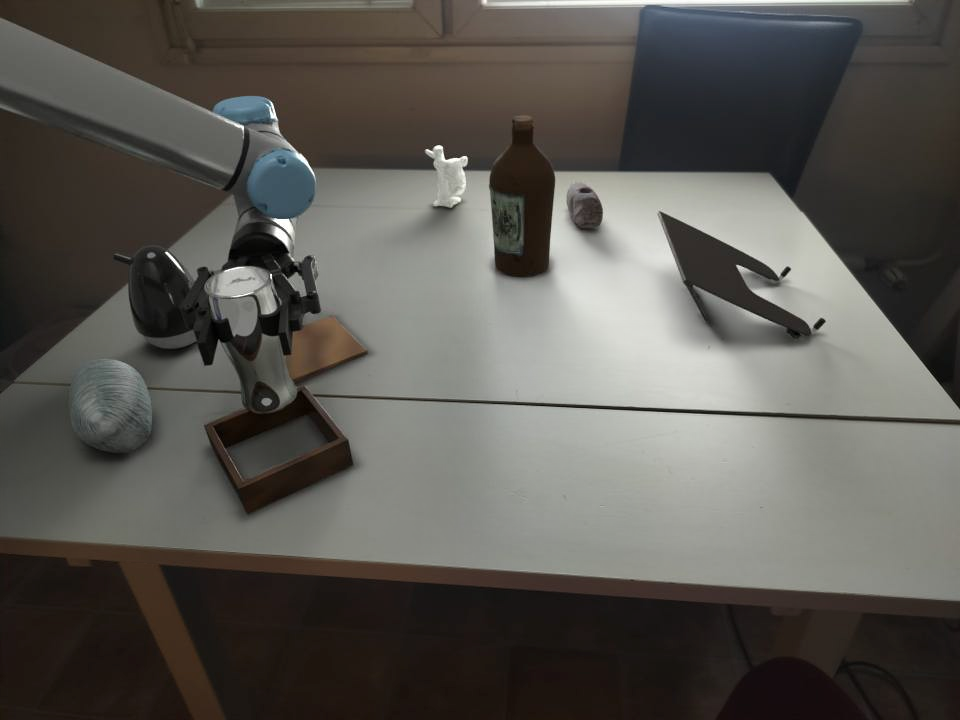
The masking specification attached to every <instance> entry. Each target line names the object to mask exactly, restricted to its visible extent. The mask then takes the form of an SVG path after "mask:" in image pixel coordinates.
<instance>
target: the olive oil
mask: <svg viewBox="0 0 960 720" xmlns="http://www.w3.org/2000/svg"><path fill="white" fill-rule="evenodd" d="M511 123H512V126H511V142H510V144H509V145H508V146H507V147H506V149H504V150H503V152H501V154H500V155H499V156H497V158H496V159H495V161H494V162H493V164H492V167H491V170H490V174H489V181H488V183H489V184H488V189H489V196H490V197H489V198H490V210H491V221H492V236H493V253H494V265H495V269H497V271H499V272H500V273H502V274H504V275H507V276H510V277H516V278H517V277H518V278H525V277H533V276H537V275H540V274H542V273H543V272H545V271H546V270H547V269H548V268H549V265H550V253H551V252H550V251H551V237H552V224H553V223H552V222H553V211H554V200H555V192H556V191H555V189H556V173H555V170H554V166H553V163H552V162H551V160H550V159H549V158H548V157H547V155H546V154H545V153H544V152H543V151H542V150H541V149H540V148H539V147H538V146H537V145H536V144H535V142H534V126H533V124H534V118H533V117H532V116H530V115H525V114H524V115H516V116H514V117H512V118H511Z"/></svg>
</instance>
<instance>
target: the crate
mask: <svg viewBox="0 0 960 720" xmlns="http://www.w3.org/2000/svg"><path fill="white" fill-rule="evenodd" d="M296 388H297V396H296V398H295V400H294V401H293V402H292V403H291V404H290V405H289V406H287V407H286V408H284V409H282V410H280V411H277V412H274V413H269V414H256V413H252V412H250V411H248V410H246V409H245V408H243V409H240V410H237V411H236V412H233V413H231V414H228V415H226V416H224V417H220V418H218V419H215V420H213V421H210V422H208V423H205V424H204V425H203V427H204V430H205V433H206V435H207V438H208V441H209V445H210V446H211V450H212V452H213V453H214V455H215V458H216V459H217V461H218V463H219V464H220V467H221V469H222V470H223V473H224V474H225V476H226V477H227V479H228V481H229V483H230V485H231V487H232V489H233V491H234V493H235V494H236V497H237V498H238V499H239V502H240V503H241V505H242V507H243V510H244V511H245V513H246V515H250V514H252V513H254V512H256V511H259V510H261V509H263V508H265V507H267V506H269V505H271V504H273V503H275V502H278V501H280V500H282V499H284V498H287V497H288V496H290V495H292V494H295V493H297V492H299V491H301V490H303V489H306V488H308V487H310V486H312V485H314V484H316V483H319V482H320V481H323V480H325V479H327V478H328V477H331V476H333V475H335V474H337V473H339V472H342V471H343V470H346V469H348V468H351V467H353V466H354V460H353V455H352V450H351V444H350V440H349V438H348V437H347V436H346V434H345V433H344V432H343V430H341V428H340V427H339V426H338V425H337V424H336V422H335V421H334V419H333V418H332V417H331V416H330V415H329V413H328V412H327V411H326V409H325V408H324V407H323V406H322V405H321V403H319V401H318V400H317V399H316V397H315V396H314V395H313V393H311V391H310V390H309V388H308V387H307V386H306V385H305V384H304V385H301V386H299V387H296ZM305 416H307V417H308V418H309V419H310V421H311V422H312V423H313V425H314V426H315V427H316V429H317V430H318V431H319V432H320V434H321V435H322V436H323V438H324V440H325V441H326V442H327V443H326V444H324V445H322V446H319V447H317V448H315V449H312V450H310V451H307V452H306V453H303V454H301V455H299V456H297V457H294V458H292V459H290V460H287V461H286V462H284V463H281V464H279V465H276V466H275V467H272V468H269V469H268V470H265V471H263V472H261V473H258V474H256V475H254V476H252V477H249V478H247V479H245V480H244V479H243V478H242V476H241V473H240V472H239V471H238V469H237V467H236V465H235V463H234V462H233V460H232V458H231V457H230V454H229V453H228V451H227V449H228V448H231V447H233V446H236V445H238V444H241V443H243V442H245V441H247V440H250V439H252V438H255V437H257V436H259V435H262V434H264V433H266V432H270V431H271V430H274V429H277V428H279V427H280V426H284V425H286V424H288V423H291V422H293V421H296V420H298V419H300V418H302V417H305Z"/></svg>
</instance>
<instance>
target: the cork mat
mask: <svg viewBox="0 0 960 720" xmlns="http://www.w3.org/2000/svg"><path fill="white" fill-rule="evenodd" d="M365 355H368V350H367V348H365V347H364V345H362V344H361V343H360V342H359V341H358V339H356V338H355V337H354V336H353V335H352V334H351V333H350V332H349V331H348V330H347V329H346V328H345V327H344V326H343V325H342V324H341V323H340V322H339V321H338V320H337V319H336V318H335V317H334V316H333V315H330V316H327V317H323V318H321V319H318V320H315V321H312V322H310V323H307V324H303V328H302V330H301V331H293V338H292V351H291V355H286V361H287V367H288V370H289V373H290V375H291V377H292V379H293V381H294V383H297V382H299V381H301V380H304V379H307V378H310V377H313V376H314V375H316V374H319V373H322V372H325V371H327V370H330V369H332V368H334V367H337V366H339V365H342V364H345V363H347V362H348V363H349V362H350V361H353V360H355V359H358V358H361V357H363V356H365Z"/></svg>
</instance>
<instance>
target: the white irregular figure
mask: <svg viewBox="0 0 960 720" xmlns="http://www.w3.org/2000/svg"><path fill="white" fill-rule="evenodd" d="M424 152H425V154H426V155H427V156H428V157H430V158H432V159H434V160H433V167H434V168H435V169H436V172H437V195H438V198H437V199H436V200H435V201H434V202H433V203H432V206H433V207H439V206H440V207H446V208H448V209H451V208H453V207H454V206H455V205H458V204H459V203H461V201H462V199H461V198H460V197H458V196H461V195H463V194H464V192H465V191H466V187H467V179H466V175H465V171H464V169H463V168H465V167H467V165H468V164H469V163H468V162H469V158H468V157H467V155H465V156H464V155H463V156H461V157H460V158H457V157H453V158H449V159H445V154H444V147H443V146H442V145H439V144H438V145H436V146H433V148H432V150H429V149H424Z"/></svg>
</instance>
